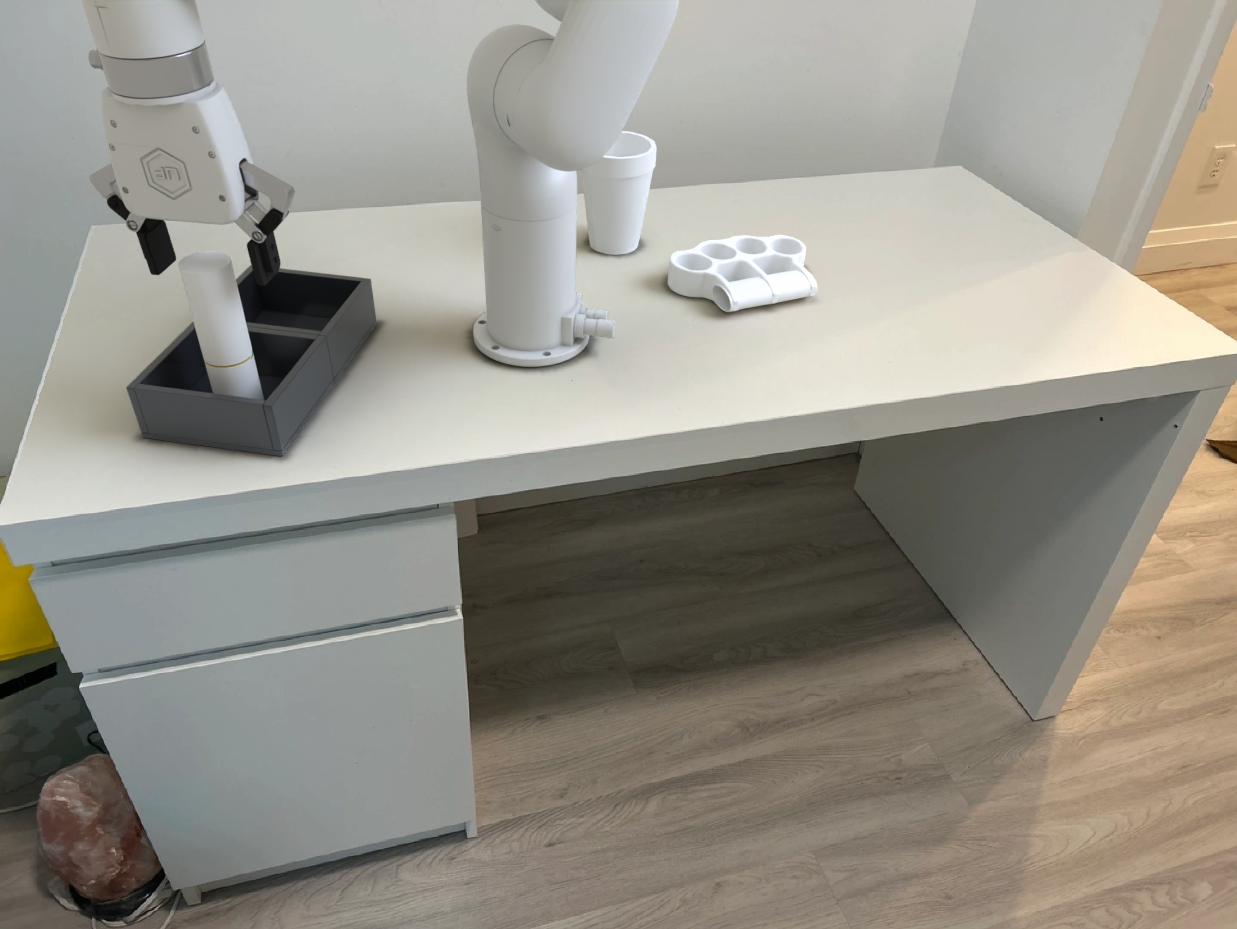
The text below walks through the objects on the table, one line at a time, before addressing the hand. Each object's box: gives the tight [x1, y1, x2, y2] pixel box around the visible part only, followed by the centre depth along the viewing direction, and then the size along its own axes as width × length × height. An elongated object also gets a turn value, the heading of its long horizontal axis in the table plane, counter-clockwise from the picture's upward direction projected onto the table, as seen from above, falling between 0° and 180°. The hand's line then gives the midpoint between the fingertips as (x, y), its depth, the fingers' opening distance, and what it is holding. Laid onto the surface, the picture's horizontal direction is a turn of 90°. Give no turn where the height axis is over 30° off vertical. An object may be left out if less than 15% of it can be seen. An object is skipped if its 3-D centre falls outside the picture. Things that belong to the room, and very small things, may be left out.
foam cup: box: [580, 130, 658, 256], centre depth 120 cm, size 10×9×13 cm
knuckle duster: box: [667, 234, 819, 313], centre depth 116 cm, size 3×18×15 cm
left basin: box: [125, 321, 335, 457], centre depth 91 cm, size 14×12×6 cm
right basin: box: [236, 264, 378, 385], centre depth 100 cm, size 14×12×6 cm
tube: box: [177, 250, 264, 400], centre depth 87 cm, size 4×4×15 cm
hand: (216, 272), depth 84 cm, fingers open, 9 cm apart
